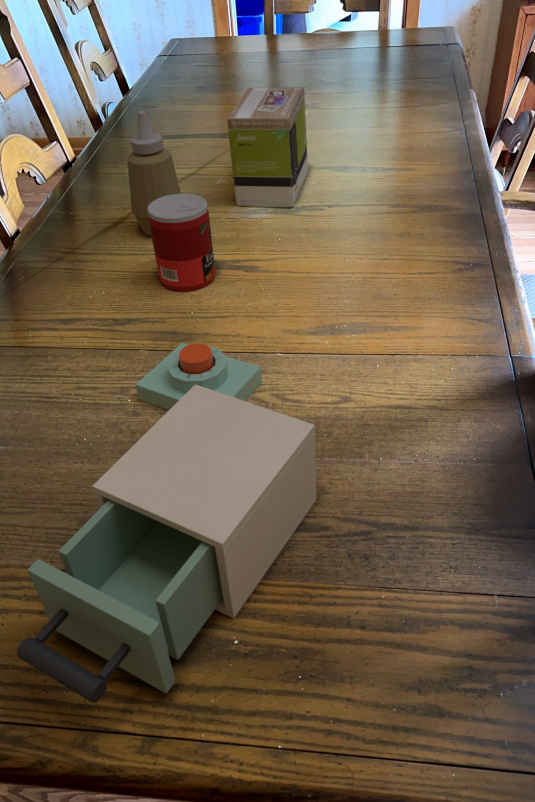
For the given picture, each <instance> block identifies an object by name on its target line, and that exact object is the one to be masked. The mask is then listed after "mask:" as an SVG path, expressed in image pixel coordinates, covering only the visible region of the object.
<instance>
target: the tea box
mask: <svg viewBox="0 0 535 802" xmlns="http://www.w3.org/2000/svg"><path fill="white" fill-rule="evenodd" d="M305 95H306V94H305V87H304V86H290V87H251V86H250V87H248V88H247V89H246V91H245V92H244V93H243V94H242V97H241V98H240V99H239V101H238V103H236V105H235V106H234V108H233V110H232V111H231V113H230V115H229V116H228V117H227V119H226V120H227V121H226V122H227V131H228V141H229V147H230V148H229V150H230V151H229V152H230V159H231V170H232V177H233V187H234V196H235V197H234V198H235V204H236V206H237V207H252V208H253V207H255V208H256V207H259V208H293V207H294V206H295V204H296V201H297V199H298V196H299V194H300V192H301V189H302V187H303V184H304V182H305V179H306V177H307V174H308V171H309V160H308V140H307V117H306V98H305Z"/></svg>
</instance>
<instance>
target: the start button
mask: <svg viewBox="0 0 535 802" xmlns="http://www.w3.org/2000/svg"><path fill="white" fill-rule="evenodd" d="M209 346H210V345H207V344H204V343H191V344H189V345H188V346H185V347H184V348H182V349H181V351H180V352H179V359H180V365H181V369H182V371H183V372H184V373H187V374H202V373H204V372H207V371H210V370H211V369H212V367H213V357H212V350H211V348H210V347H209Z"/></svg>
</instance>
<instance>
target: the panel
mask: <svg viewBox="0 0 535 802" xmlns="http://www.w3.org/2000/svg"><path fill="white" fill-rule="evenodd" d="M188 345H190V343H186V342H181V343H180V344H179V345H178V346H176V347H175V348H174V349H173V350H171V352H170V353H169V354H167V355H166V356H165V357H164V358H163V359H162V360H161V361H160V362H159V363H158V364H156V365H155V366H154V367H153V368H152V369H151V370H149V372H147V373H146V374H145V375H144V376H143V377H142V378H141V379H140V380H139V381H138V382H136V383H135V389H136V393H137V397H138V400H140V401H143V402H144V403H148V404H151V405H153V406H156V407H159V408H161V409H164V410H167V411H169V410H170V409H171V408H172V407H173V406H174V405H175V404H176V403H177V402H178V401H179V400H180V399H181V398H182V397H183V396H184V395H185V394H186V393H187V392H188V391H189V390H190V389H191V388H192V387H193V386H194V385H199V386H201V387H204V388H207V389H210V390H213V391H216V392H219V393H222V394H225V395H228V396H231V397H234V398H237V399H240V400H243V401H246V400H247V399H248V398H249V397H250V396H251V395H252V394H253V393H254V392H255V390H256V389H257V388H258V387H259V386H260V385H261V384H262V383H263V375H262V367H261V366H260V365H256V364H253V363H250V362H247V361H243V360H240V359H237V358H234V357H230V356H228V355H225V354H224V352H223V351H222V350H221V349H220V348H217V347H214V346H211V345H208V346H209V347H210V348H211V350H212V357H213V367H212V369H211V370H210V371H207V372H204V373H202V374H187V373H184V372H183V371H182V369H181V365H180V359H179V352H180V351H181V349H182V348H184V347H185V346H188Z"/></svg>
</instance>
